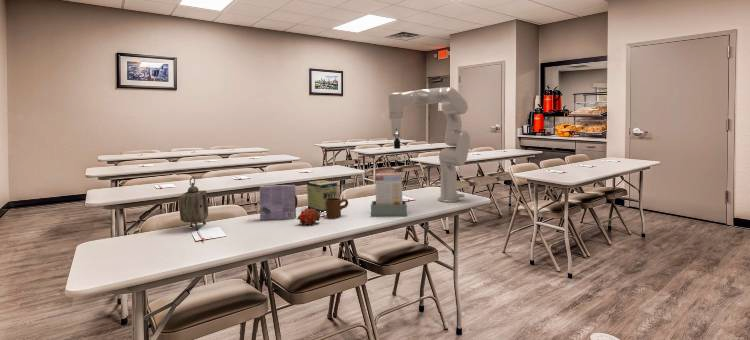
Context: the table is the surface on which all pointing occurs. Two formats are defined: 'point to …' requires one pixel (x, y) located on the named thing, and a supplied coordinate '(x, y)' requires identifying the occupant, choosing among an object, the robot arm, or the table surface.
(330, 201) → the mug
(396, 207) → the tray
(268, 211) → the cake pan box
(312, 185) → the protein box
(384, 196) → the cracker box
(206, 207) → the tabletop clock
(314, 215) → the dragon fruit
